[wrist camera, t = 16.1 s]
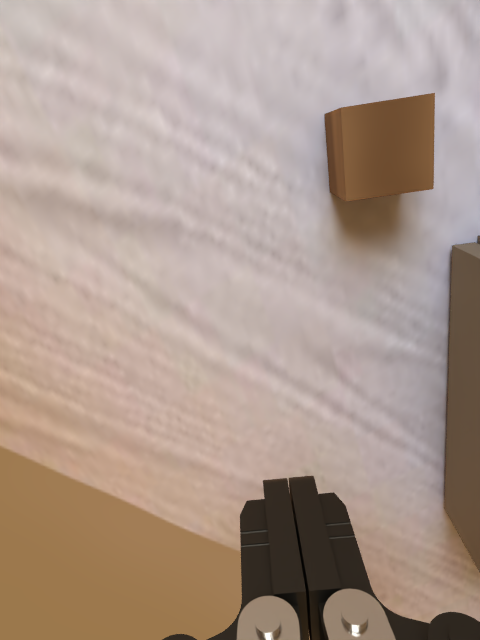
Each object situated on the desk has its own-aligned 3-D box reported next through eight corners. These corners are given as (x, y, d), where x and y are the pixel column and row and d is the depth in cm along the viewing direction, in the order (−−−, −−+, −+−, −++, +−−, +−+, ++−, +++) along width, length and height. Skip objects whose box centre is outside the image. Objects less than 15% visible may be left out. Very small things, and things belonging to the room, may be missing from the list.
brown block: (330, 192, 20) (346, 201, 17) (324, 114, 19) (340, 107, 16) (402, 181, 20) (433, 188, 16) (401, 102, 19) (434, 93, 15)
